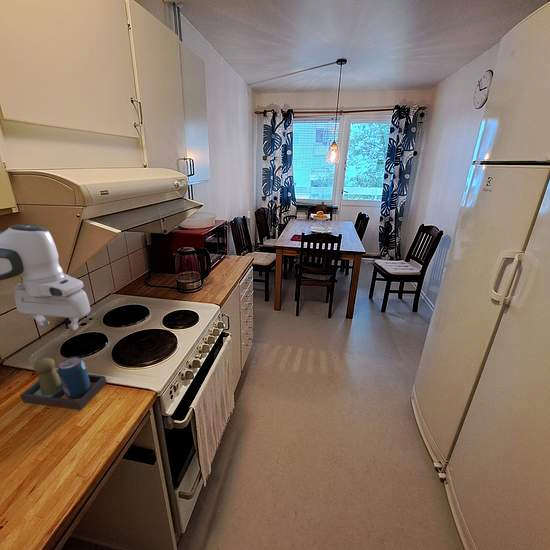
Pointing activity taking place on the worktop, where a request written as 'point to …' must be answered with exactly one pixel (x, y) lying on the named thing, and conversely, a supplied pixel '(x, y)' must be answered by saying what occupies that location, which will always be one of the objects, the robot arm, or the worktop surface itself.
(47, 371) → the olive green rounded piece
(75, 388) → the soda can
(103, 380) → the sorting tray
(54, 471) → the worktop surface
